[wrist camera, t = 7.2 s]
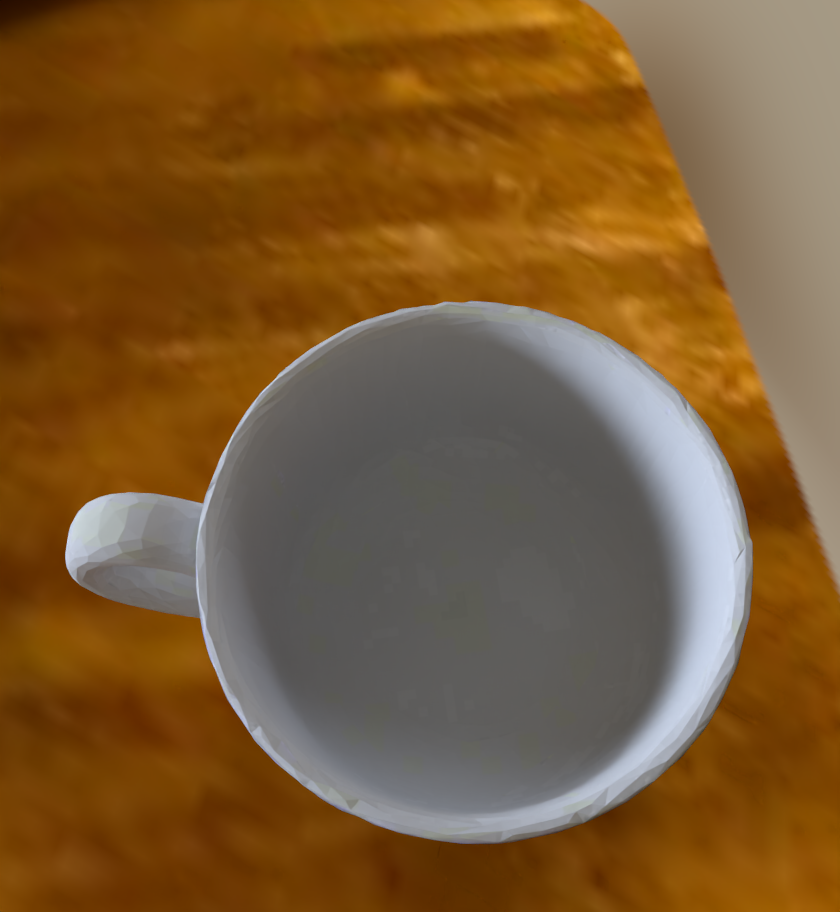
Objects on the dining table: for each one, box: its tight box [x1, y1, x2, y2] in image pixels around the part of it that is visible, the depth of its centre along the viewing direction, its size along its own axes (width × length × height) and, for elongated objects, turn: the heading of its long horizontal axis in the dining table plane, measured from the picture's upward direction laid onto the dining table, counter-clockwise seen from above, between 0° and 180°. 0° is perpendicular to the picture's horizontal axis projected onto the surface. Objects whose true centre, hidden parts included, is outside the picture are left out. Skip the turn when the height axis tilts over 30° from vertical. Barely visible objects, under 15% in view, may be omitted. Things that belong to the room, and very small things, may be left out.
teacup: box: [65, 301, 753, 844], centre depth 19 cm, size 14×11×8 cm
